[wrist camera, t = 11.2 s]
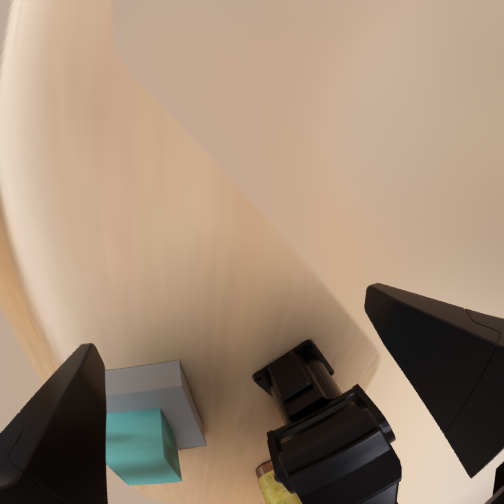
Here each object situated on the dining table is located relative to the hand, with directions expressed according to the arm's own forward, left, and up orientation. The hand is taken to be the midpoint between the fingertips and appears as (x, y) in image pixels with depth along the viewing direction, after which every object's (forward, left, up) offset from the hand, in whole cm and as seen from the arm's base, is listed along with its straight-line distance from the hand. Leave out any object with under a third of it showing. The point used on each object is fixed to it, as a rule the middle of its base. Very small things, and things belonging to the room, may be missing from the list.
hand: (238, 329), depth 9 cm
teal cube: (-11, +15, -9) cm, 21 cm away
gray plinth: (-11, +15, -12) cm, 22 cm away
